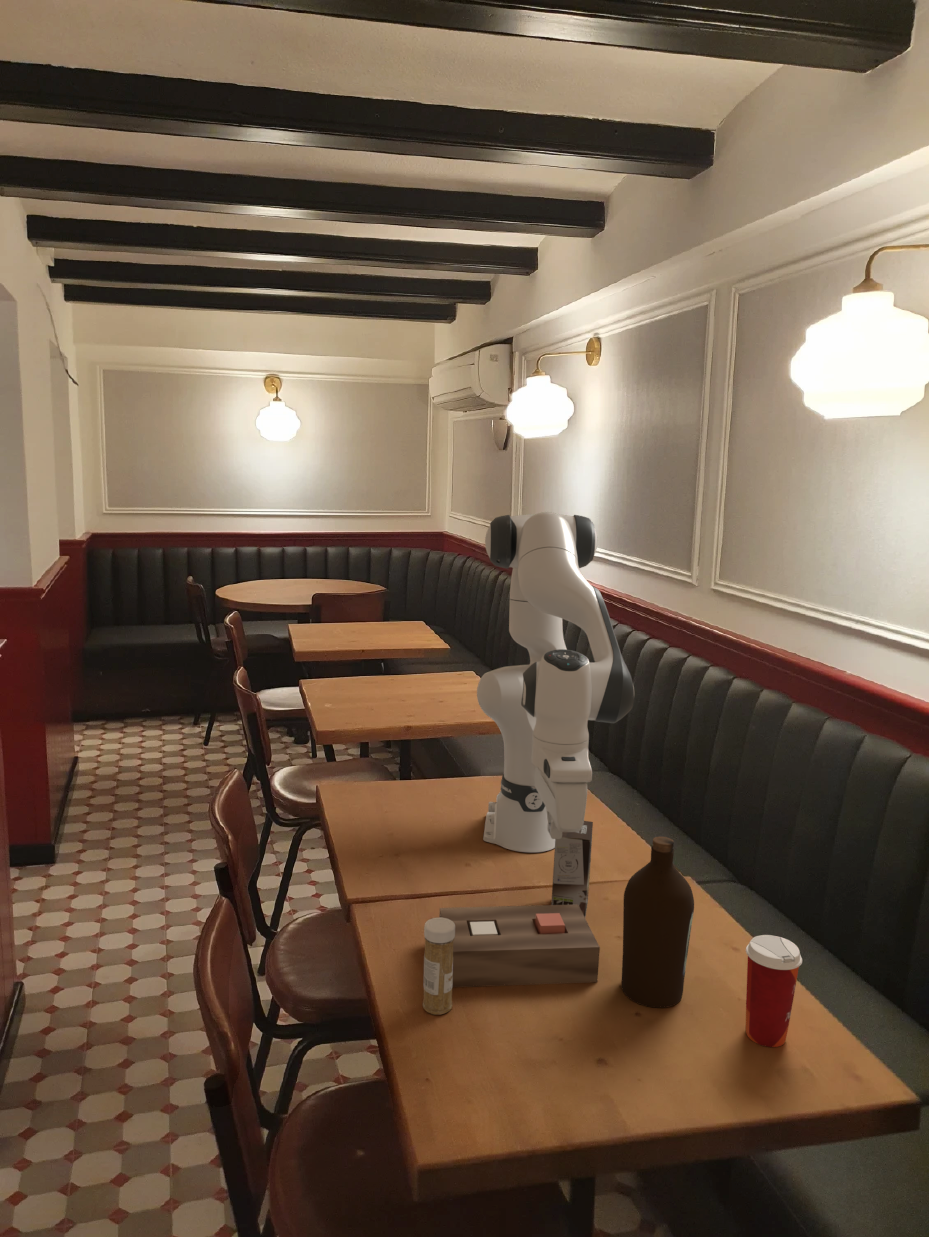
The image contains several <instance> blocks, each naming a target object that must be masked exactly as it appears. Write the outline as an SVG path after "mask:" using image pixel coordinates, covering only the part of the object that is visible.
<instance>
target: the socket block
mask: <svg viewBox="0 0 929 1237" xmlns="http://www.w3.org/2000/svg"><path fill="white" fill-rule="evenodd" d="M546 913H560V915H561V918H562V920H563V922H564V924H565V933H559V934H538V933H537V930H536V928H535V920H536V914H546ZM439 917H442V918H447V919H450V920H451V921H453V922H454V924H455V937H454V940H453V986H452V988H464V987H466V988H469V987H492V986H493V987H497V986H522V985H523V986H525V985H553V984H575V983H577V984H579V983H580V984H581V983H584V984H585V983H598V977H599V976H598V975H599V965H600V950H601V947H600V945H599V942H598V941H597V938H596V937H595V935H594V933H593V930H592V928H591V927H590V925H589V923H588V921H587V919H586V917H584V915H583V913H582V911H581V909H580V907H579V905H578V904H576V905H551V904H546V905H544V904H542V905H509V906H508V905H506V906H505V905H504V906H502V905H501V906H500V905H499V906H465V907H461V906H460V907H456V906H455V907H439ZM489 921H494V923H495V927H496V930H497V933H498V935H490V936H470V933H469V930H470V922H489Z"/></svg>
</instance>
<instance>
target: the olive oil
mask: <svg viewBox="0 0 929 1237" xmlns="http://www.w3.org/2000/svg"><path fill="white" fill-rule="evenodd" d="M674 845H675V841H674V840H673V839H672V838H670V837H667V836H655V837H653V839H652V846H651V849H650V861H649V862H647V864H646V865H644V866H643V867H642V868H640V869H639V870H637V871H636V872H634V874H633V875H632V876H631V877H630V878H629V880H628V881H627V884H626V886H625V889H624V892H623V906H622V907H623V914H622V915H623V916H622V917H623V921H622V922H623V923H622V933H623V934H622V961H621V962H622V963H621V964H622V967H621V990H622V992H623V993H624V995H625V996H626V997H627V998H628V999H630V1000H631V1001H633V1002H634V1003H637V1004H639V1005H642V1006H645V1007H650V1008H658V1009H659V1008H661V1009H663V1008H664V1009H665V1008H668V1007H673V1006H674V1005H676V1004H678V1003H679V1002H680V1001H681V1000H682V998H683V993H684V984H685V978H686V976H685V975H686V971H687V970H686V967H687V960H688V954H689V953H688V952H689V946H690V939H691V932H692V924H693V918H694V911H695V899H694V894H693V891H692V890H693V889H692V888H691V886H690V883H689V882H688V881H687V880H686V878H685V877H684V876H683V874H681V873H680V872H679V870H678V869H677V868H676V867H675V865H674V855H675V849H674Z"/></svg>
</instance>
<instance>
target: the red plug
mask: <svg viewBox="0 0 929 1237" xmlns="http://www.w3.org/2000/svg"><path fill="white" fill-rule="evenodd" d="M535 928H536V930H537V933H538V934H559V933H565V924H564V922H563V920H562V918H561V915H560V913H546V914H536V920H535Z"/></svg>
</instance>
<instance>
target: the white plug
mask: <svg viewBox="0 0 929 1237" xmlns="http://www.w3.org/2000/svg"><path fill="white" fill-rule="evenodd" d="M469 933H470V936H490V935H498V933H497V930H496V927H495V923H494V921H489V922H470V930H469Z"/></svg>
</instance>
